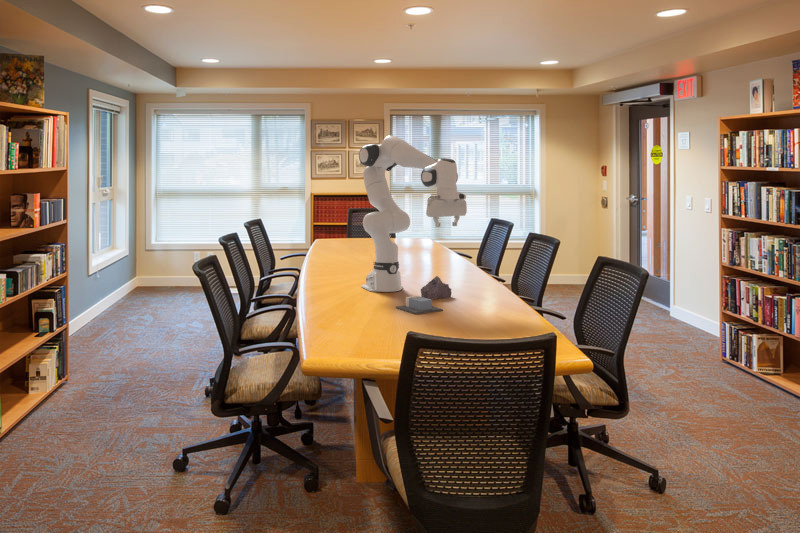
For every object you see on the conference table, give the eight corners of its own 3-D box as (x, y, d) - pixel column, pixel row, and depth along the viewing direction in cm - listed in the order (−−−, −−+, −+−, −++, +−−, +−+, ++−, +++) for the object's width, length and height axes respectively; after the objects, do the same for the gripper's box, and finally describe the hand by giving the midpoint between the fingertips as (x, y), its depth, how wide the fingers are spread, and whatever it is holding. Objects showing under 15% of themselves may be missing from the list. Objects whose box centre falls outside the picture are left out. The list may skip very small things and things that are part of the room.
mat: (395, 308, 294) (395, 306, 294) (422, 304, 302) (422, 303, 302) (415, 314, 282) (415, 312, 282) (442, 310, 290) (442, 308, 290)
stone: (423, 278, 312) (452, 275, 317) (417, 277, 317) (447, 274, 323) (424, 301, 313) (453, 298, 318) (418, 299, 318) (447, 296, 324)
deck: (432, 309, 289) (432, 299, 289) (420, 310, 286) (420, 301, 285) (417, 304, 298) (417, 295, 298) (405, 306, 295) (405, 297, 294)
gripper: (432, 196, 294) (431, 228, 296) (469, 195, 305) (468, 226, 307) (423, 195, 299) (423, 227, 301) (460, 194, 310) (459, 225, 312)
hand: (446, 226), depth 304 cm, fingers open, 8 cm apart
